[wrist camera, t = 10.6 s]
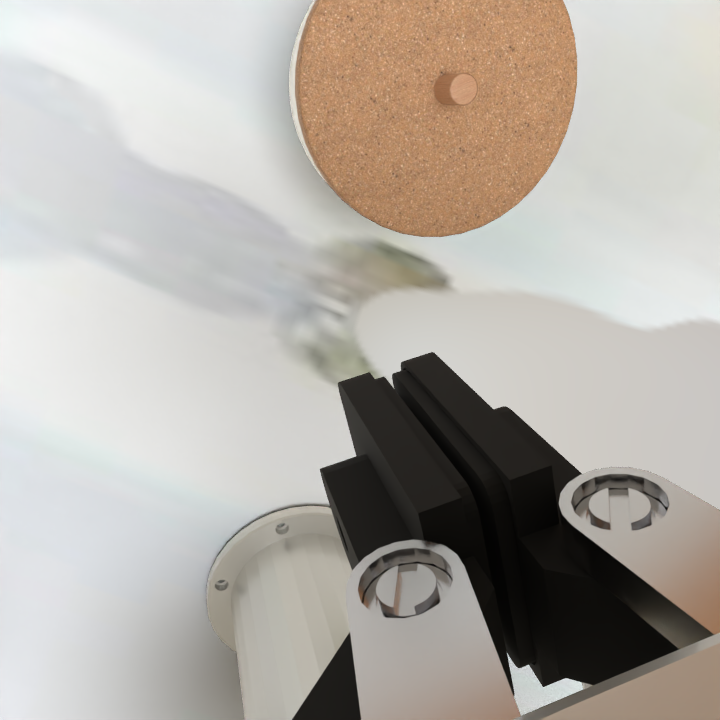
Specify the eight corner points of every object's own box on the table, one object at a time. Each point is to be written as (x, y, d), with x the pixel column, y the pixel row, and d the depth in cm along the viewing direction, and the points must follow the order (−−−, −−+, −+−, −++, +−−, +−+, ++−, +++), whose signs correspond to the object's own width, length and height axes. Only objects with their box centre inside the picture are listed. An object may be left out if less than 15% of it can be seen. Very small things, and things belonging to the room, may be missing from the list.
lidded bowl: (513, 159, 40) (627, 181, 30) (319, 241, 39) (370, 292, 29) (457, -80, 35) (572, -148, 25) (229, 7, 34) (254, -29, 24)
